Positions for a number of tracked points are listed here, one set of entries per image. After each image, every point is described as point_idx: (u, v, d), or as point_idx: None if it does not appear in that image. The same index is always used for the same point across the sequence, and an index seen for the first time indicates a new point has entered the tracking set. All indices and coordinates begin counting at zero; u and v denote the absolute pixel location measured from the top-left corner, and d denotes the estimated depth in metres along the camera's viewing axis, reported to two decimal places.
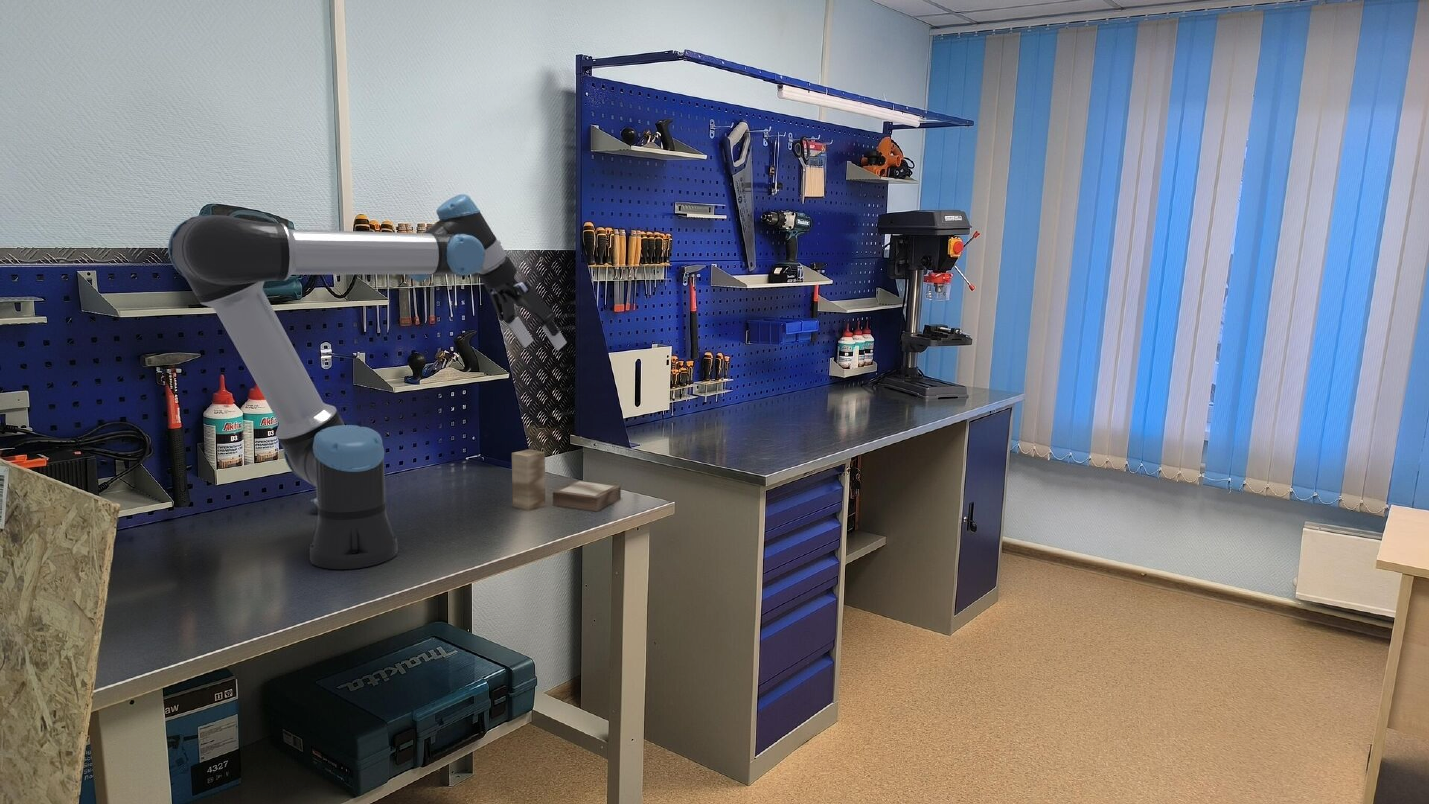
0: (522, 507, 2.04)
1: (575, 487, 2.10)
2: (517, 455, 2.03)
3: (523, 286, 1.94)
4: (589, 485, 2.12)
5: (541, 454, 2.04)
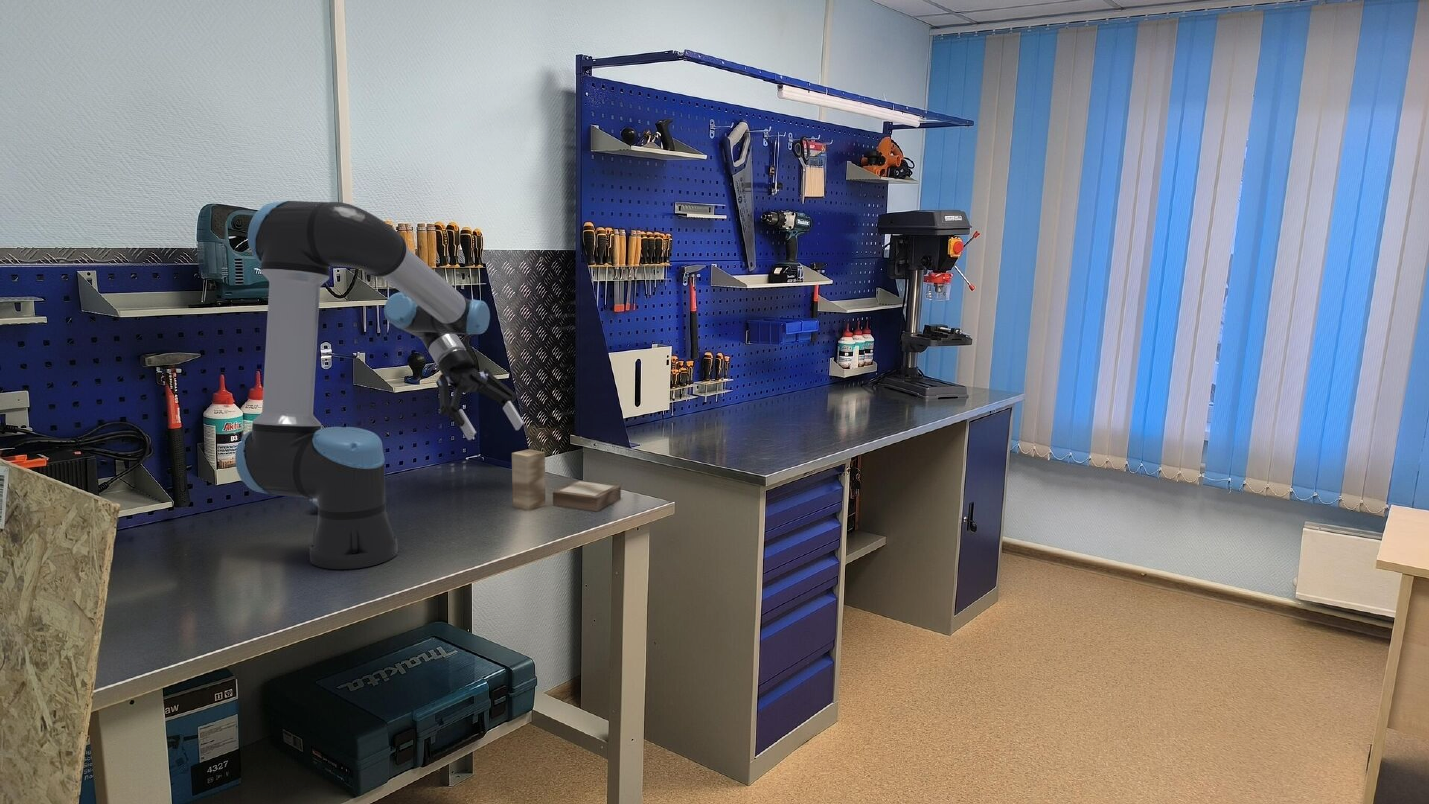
0: (522, 507, 2.04)
1: (575, 487, 2.10)
2: (517, 455, 2.03)
3: None
4: (589, 485, 2.12)
5: (541, 454, 2.04)
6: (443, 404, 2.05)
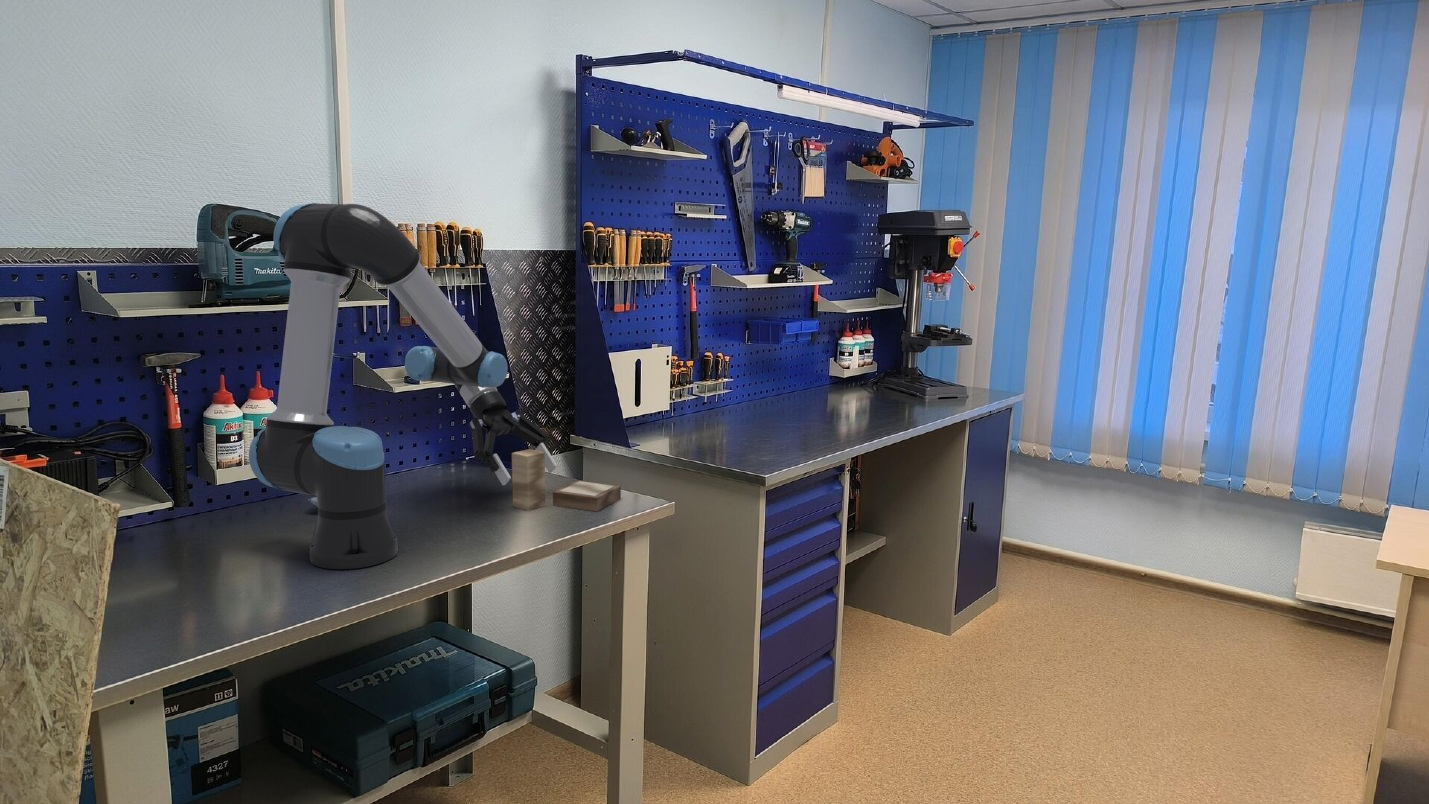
0: (522, 507, 2.04)
1: (575, 487, 2.10)
2: (517, 455, 2.03)
3: None
4: (589, 485, 2.12)
5: (541, 454, 2.04)
6: (477, 449, 2.00)
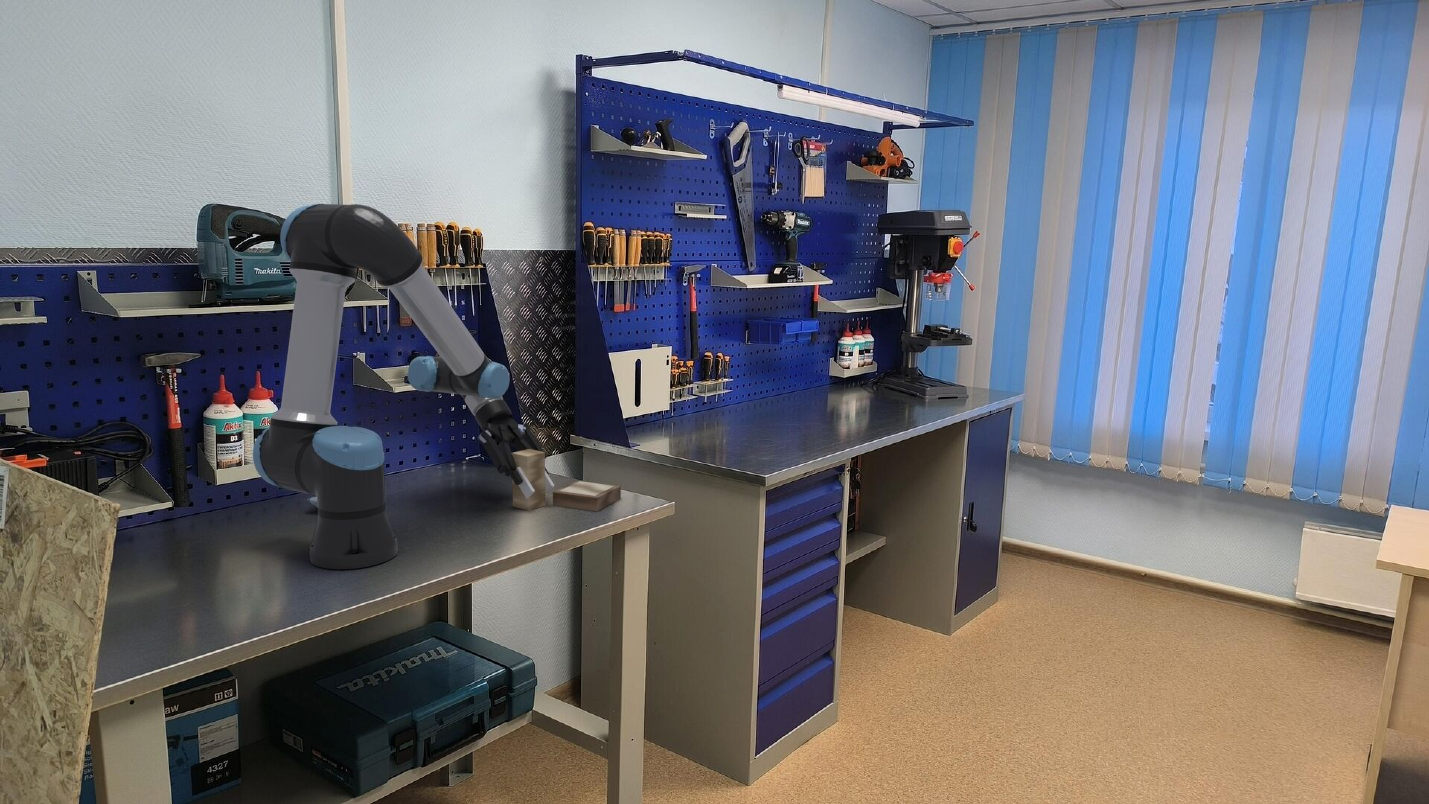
0: (522, 507, 2.04)
1: (575, 487, 2.10)
2: (517, 455, 2.03)
3: None
4: (589, 485, 2.12)
5: (541, 453, 2.04)
6: (500, 463, 2.01)
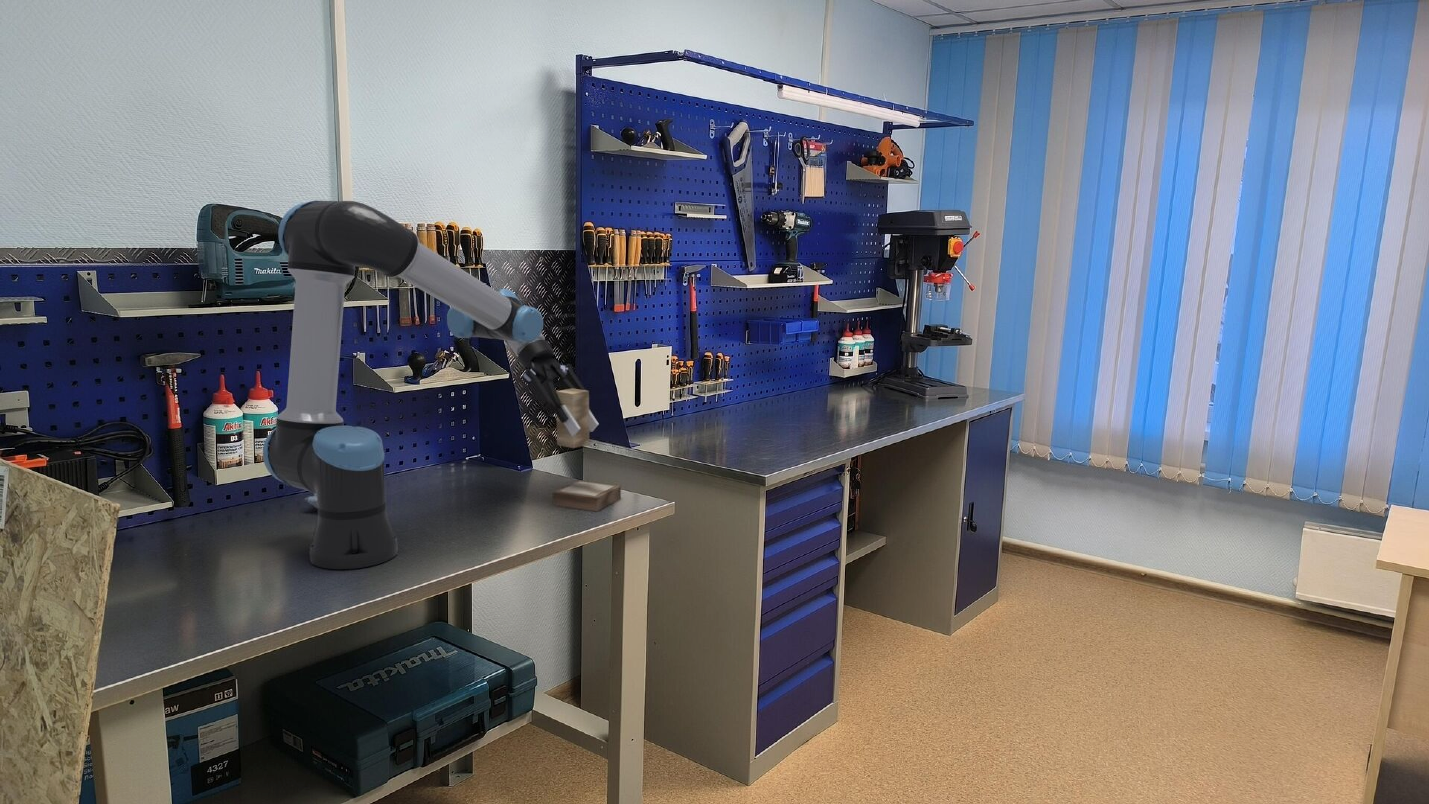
0: (567, 445, 2.05)
1: (575, 487, 2.10)
2: (562, 393, 2.04)
3: None
4: (589, 485, 2.12)
5: (585, 392, 2.05)
6: (545, 401, 2.02)
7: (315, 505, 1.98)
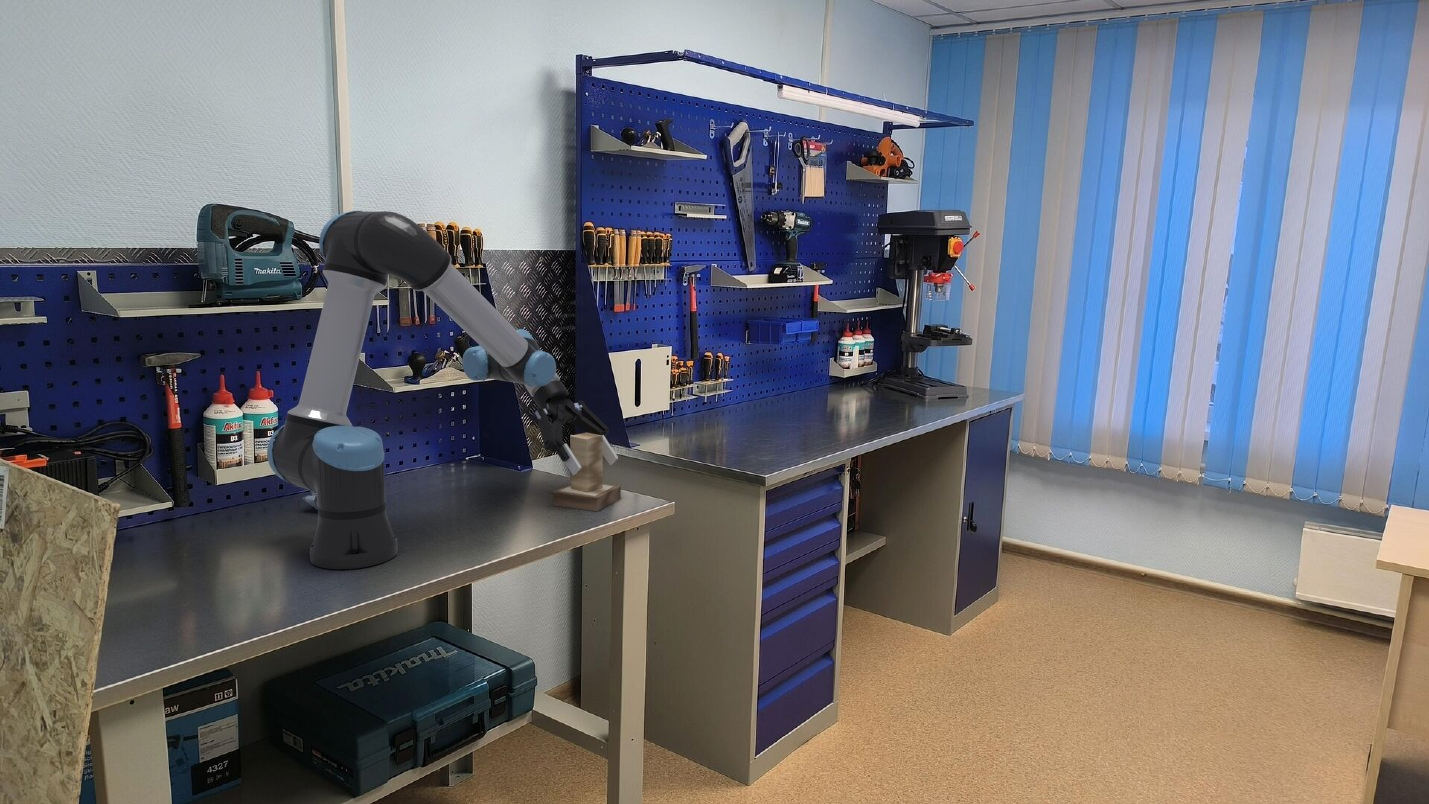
0: (580, 489, 2.07)
1: None
2: (576, 438, 2.06)
3: None
4: None
5: (599, 437, 2.07)
6: (547, 439, 2.02)
7: (312, 504, 1.99)
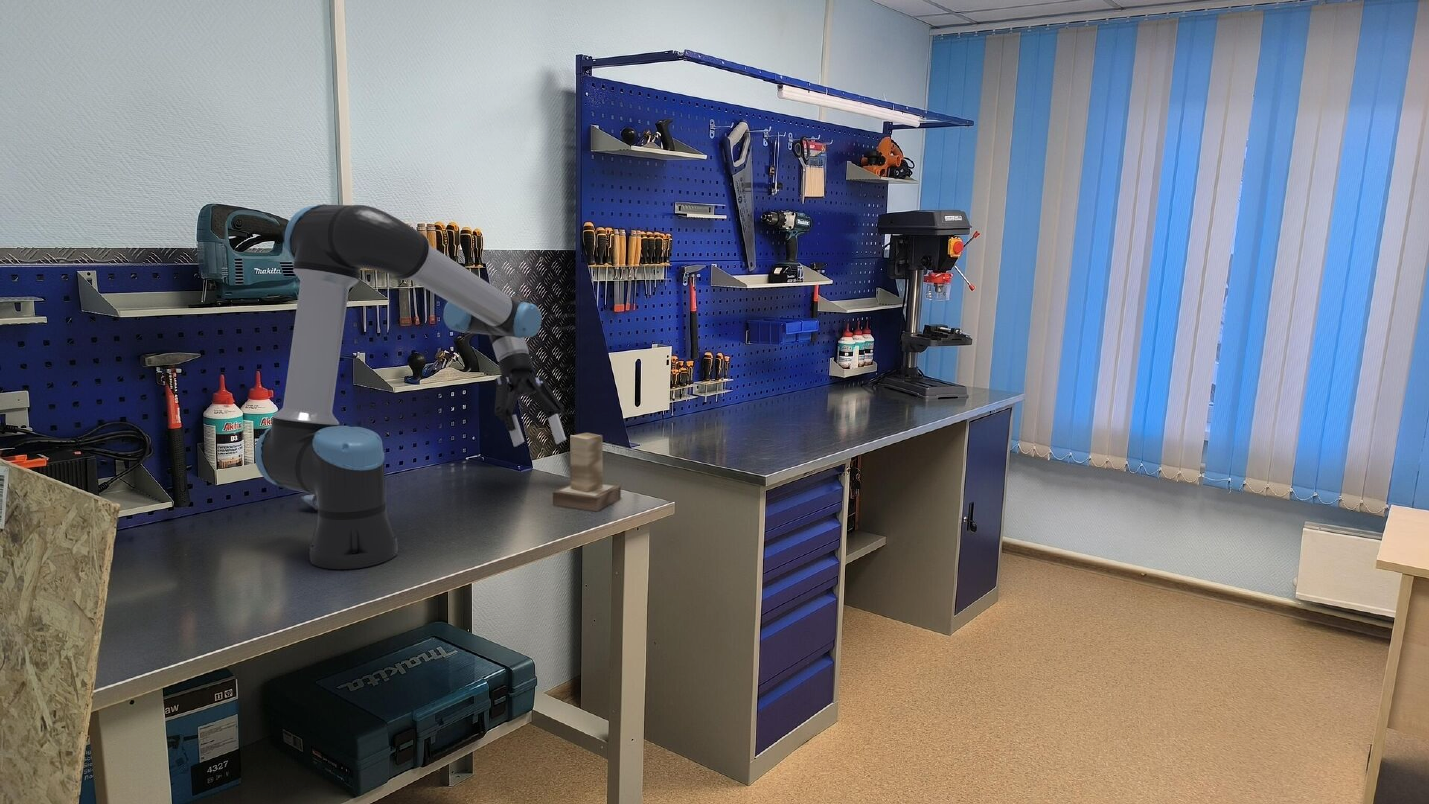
0: (580, 489, 2.07)
1: None
2: (576, 438, 2.06)
3: None
4: None
5: (599, 437, 2.07)
6: (499, 405, 2.06)
7: (311, 504, 1.99)
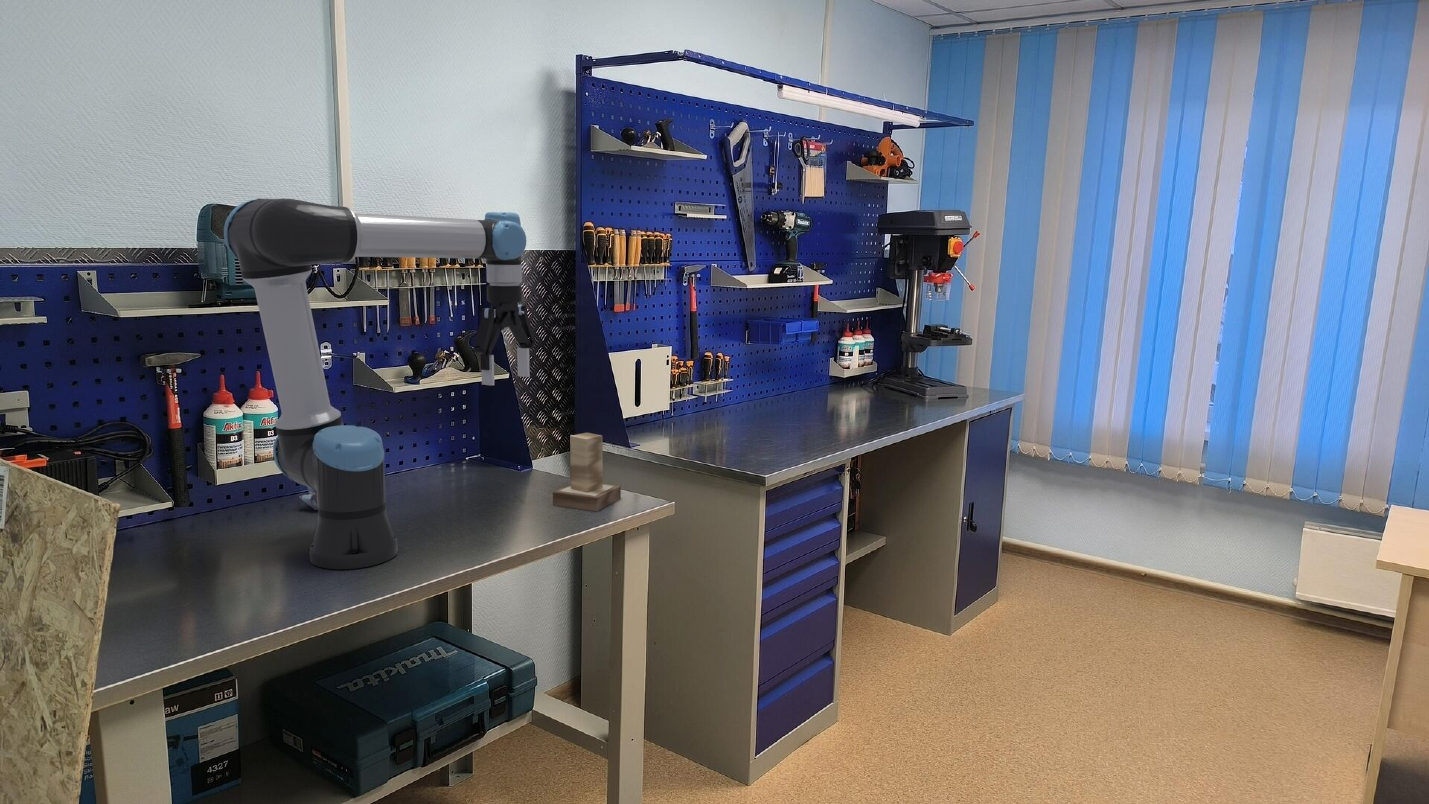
0: (580, 489, 2.07)
1: None
2: (576, 438, 2.06)
3: None
4: None
5: (599, 437, 2.07)
6: (481, 345, 1.97)
7: (309, 503, 1.99)
